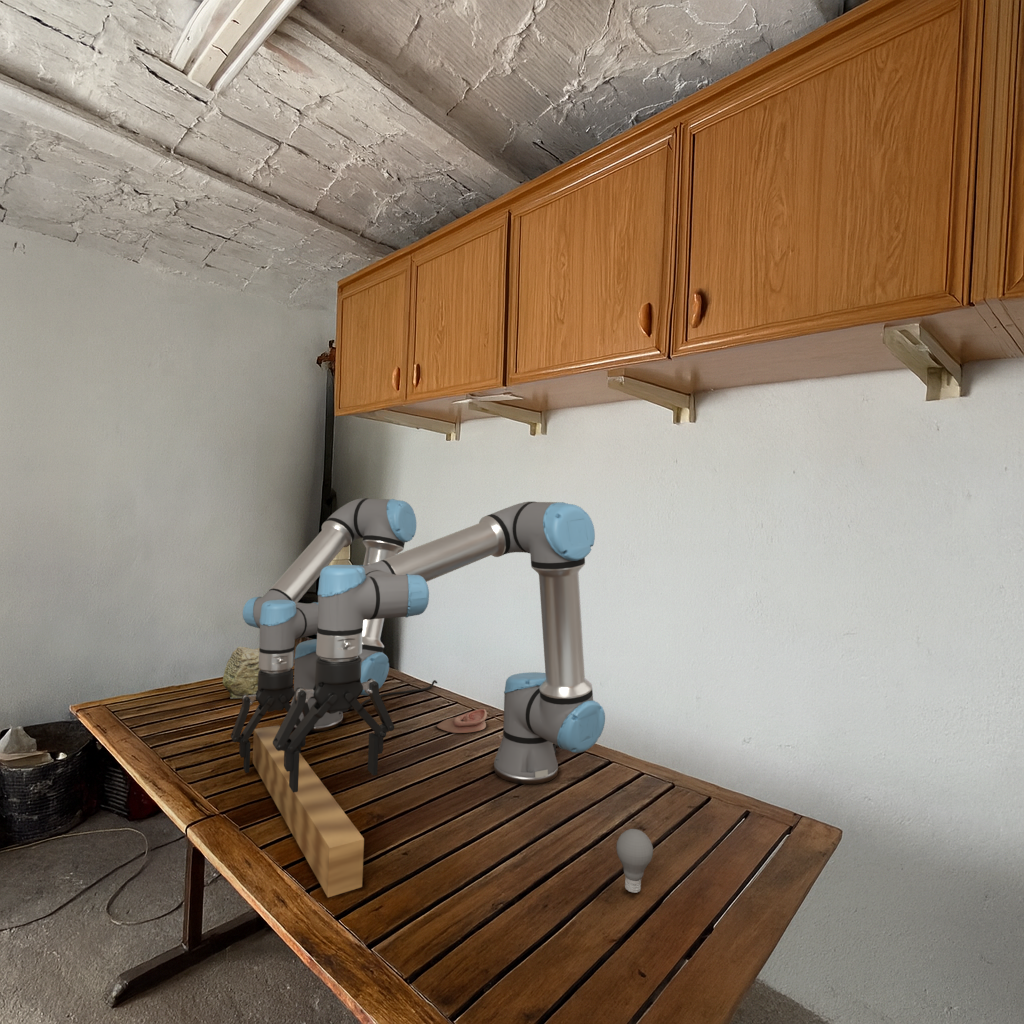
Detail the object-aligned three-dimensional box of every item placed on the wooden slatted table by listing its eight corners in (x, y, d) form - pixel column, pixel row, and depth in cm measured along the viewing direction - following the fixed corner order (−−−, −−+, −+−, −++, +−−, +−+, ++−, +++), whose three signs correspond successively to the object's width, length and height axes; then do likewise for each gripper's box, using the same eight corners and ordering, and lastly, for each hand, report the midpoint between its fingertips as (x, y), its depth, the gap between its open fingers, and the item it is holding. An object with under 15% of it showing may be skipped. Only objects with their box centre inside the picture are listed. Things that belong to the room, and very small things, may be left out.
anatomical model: (433, 716, 174) (446, 703, 185) (433, 730, 174) (445, 716, 185) (480, 721, 171) (490, 708, 182) (479, 736, 171) (489, 722, 183)
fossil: (218, 695, 195) (220, 647, 195) (278, 685, 208) (279, 640, 207) (228, 703, 189) (230, 653, 188) (289, 692, 201) (290, 645, 201)
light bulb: (610, 879, 108) (613, 822, 108) (644, 879, 109) (647, 822, 109) (619, 902, 102) (622, 840, 102) (655, 901, 103) (658, 840, 103)
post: (252, 762, 149) (253, 728, 149) (277, 758, 152) (278, 725, 152) (327, 897, 101) (329, 847, 100) (362, 887, 104) (364, 838, 104)
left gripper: (224, 679, 134) (220, 782, 135) (331, 667, 147) (327, 762, 147) (218, 670, 141) (214, 769, 141) (321, 660, 153) (318, 750, 154)
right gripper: (267, 670, 98) (262, 806, 98) (415, 654, 111) (410, 773, 112) (256, 658, 104) (252, 786, 104) (398, 645, 118) (394, 758, 118)
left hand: (272, 765), depth 144 cm, fingers open, 10 cm apart
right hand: (334, 780), depth 108 cm, fingers open, 13 cm apart
